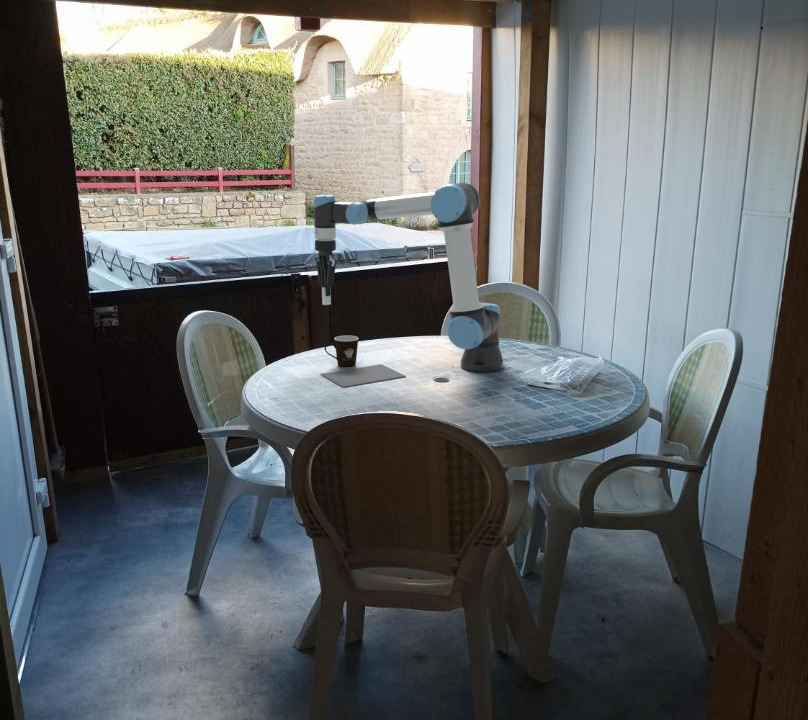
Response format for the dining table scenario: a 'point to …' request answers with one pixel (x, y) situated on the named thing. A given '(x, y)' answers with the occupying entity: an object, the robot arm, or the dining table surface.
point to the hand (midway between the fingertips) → (326, 304)
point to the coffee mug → (345, 350)
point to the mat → (362, 375)
